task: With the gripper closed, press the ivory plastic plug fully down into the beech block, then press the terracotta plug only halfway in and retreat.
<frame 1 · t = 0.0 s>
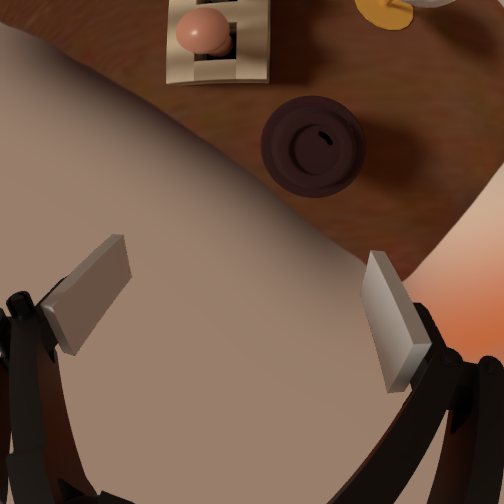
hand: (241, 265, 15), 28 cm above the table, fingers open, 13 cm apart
coffee cup: (304, 134, 37), on the table
terracotta plug: (210, 37, 25), point 8 cm above the table, slide at 0.0 cm
cup: (384, 4, 26), on the table
beech block: (225, 24, 31), on the table
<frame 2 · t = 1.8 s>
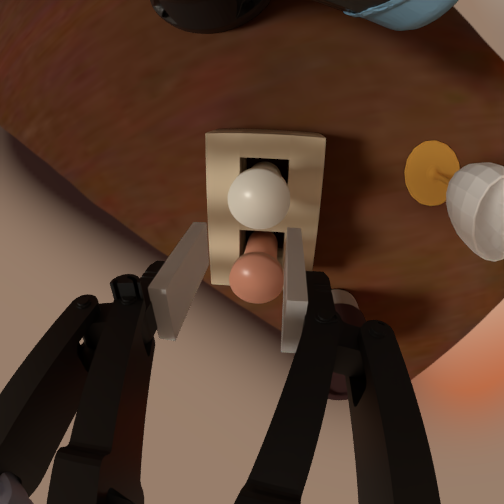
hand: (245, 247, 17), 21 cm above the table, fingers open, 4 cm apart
coffee cup: (333, 306, 44), on the table
ivory plug: (262, 187, 28), point 8 cm above the table, slide at 0.0 cm
terracotta plug: (259, 260, 32), point 8 cm above the table, slide at 0.0 cm
cup: (432, 173, 32), on the table
beech block: (265, 200, 37), on the table
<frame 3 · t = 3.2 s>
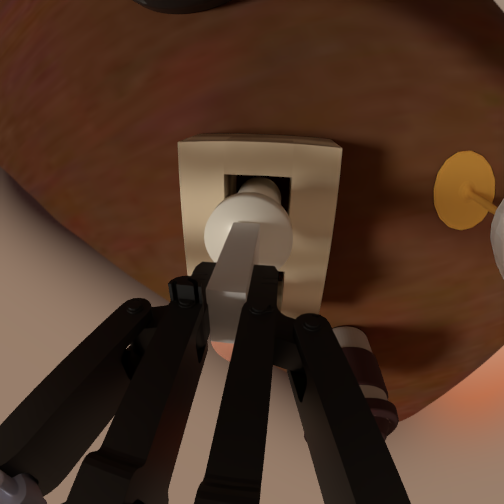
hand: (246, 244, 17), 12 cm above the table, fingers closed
coffee cup: (340, 343, 36), on the table
ivory plug: (254, 215, 21), point 8 cm above the table, slide at 0.4 cm, touching gripper
terracotta plug: (252, 308, 24), point 8 cm above the table, slide at 0.0 cm
cup: (465, 190, 25), on the table
beech block: (261, 225, 29), on the table
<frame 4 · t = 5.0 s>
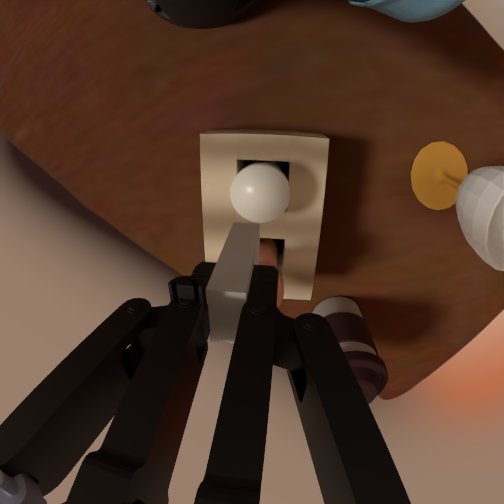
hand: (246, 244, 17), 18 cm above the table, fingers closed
coffee cup: (335, 313, 42), on the table
ivory plug: (263, 182, 29), point 5 cm above the table, slide at 3.2 cm
terracotta plug: (258, 269, 30), point 8 cm above the table, slide at 0.0 cm
cup: (439, 175, 30), on the table
beech block: (265, 204, 35), on the table
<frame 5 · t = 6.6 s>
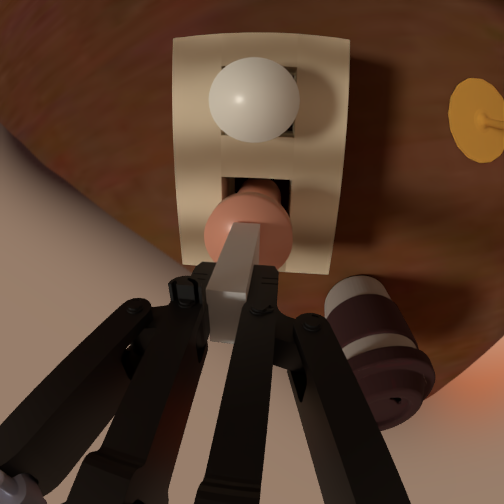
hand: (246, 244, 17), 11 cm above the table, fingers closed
coffee cup: (355, 299, 32), on the table
ivory plug: (259, 100, 19), point 5 cm above the table, slide at 3.2 cm
terracotta plug: (254, 215, 21), point 7 cm above the table, slide at 1.3 cm, touching gripper
cup: (480, 120, 20), on the table
beech block: (263, 145, 25), on the table
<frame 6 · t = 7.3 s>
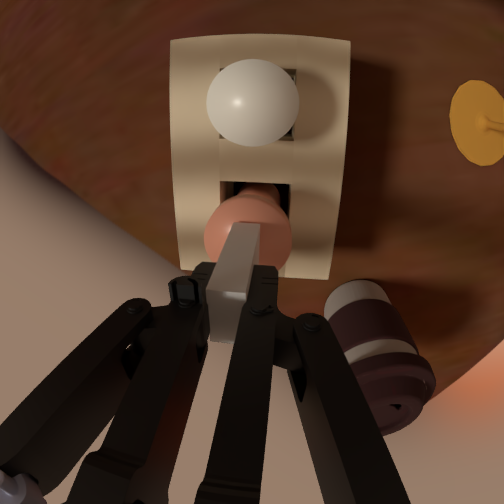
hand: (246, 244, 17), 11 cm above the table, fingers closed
coffee cup: (355, 303, 31), on the table
ivory plug: (258, 103, 18), point 5 cm above the table, slide at 3.2 cm
terracotta plug: (254, 217, 21), point 6 cm above the table, slide at 1.8 cm
cup: (481, 122, 20), on the table
beech block: (262, 149, 25), on the table
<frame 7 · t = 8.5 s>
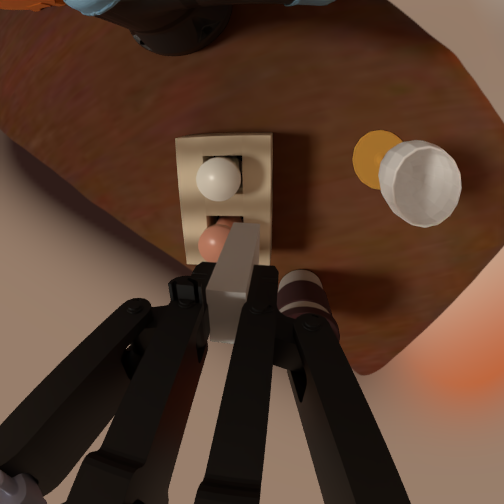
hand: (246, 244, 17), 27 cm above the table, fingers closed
coffee cup: (300, 286, 50), on the table
ivory plug: (224, 173, 37), point 5 cm above the table, slide at 3.2 cm
terracotta plug: (225, 234, 39), point 6 cm above the table, slide at 1.8 cm
cup: (381, 159, 39), on the table
beech block: (231, 192, 43), on the table
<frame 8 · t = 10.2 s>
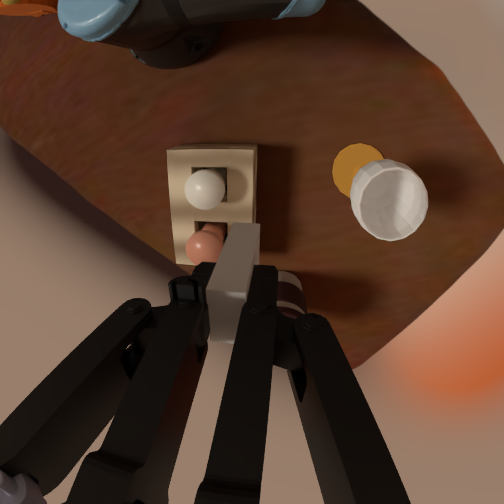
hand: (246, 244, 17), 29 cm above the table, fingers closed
coffee cup: (281, 286, 54), on the table
ivory plug: (211, 182, 41), point 5 cm above the table, slide at 3.2 cm
terracotta plug: (210, 238, 43), point 6 cm above the table, slide at 1.8 cm
cup: (360, 171, 42), on the table
alarm clock: (56, 2, 30), on the table
beech block: (218, 198, 47), on the table
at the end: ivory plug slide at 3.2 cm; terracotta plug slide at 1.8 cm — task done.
